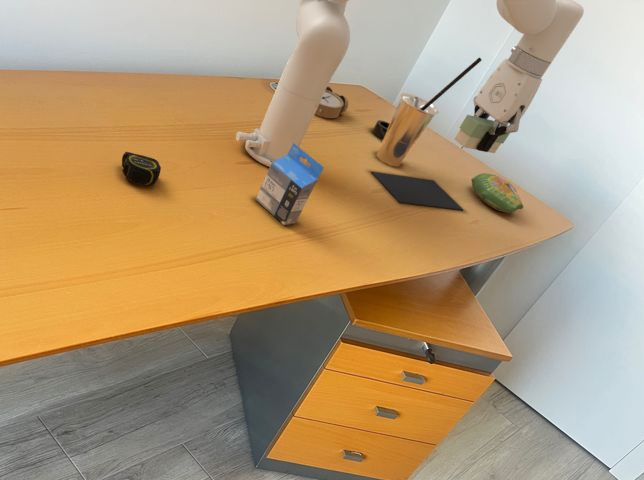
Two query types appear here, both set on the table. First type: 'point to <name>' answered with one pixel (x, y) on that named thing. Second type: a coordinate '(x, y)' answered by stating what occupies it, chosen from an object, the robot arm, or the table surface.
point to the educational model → (497, 192)
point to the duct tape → (380, 129)
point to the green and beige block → (477, 133)
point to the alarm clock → (331, 104)
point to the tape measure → (140, 168)
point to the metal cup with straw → (410, 123)
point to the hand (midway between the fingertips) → (475, 144)
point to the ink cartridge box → (289, 185)
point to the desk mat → (416, 191)
